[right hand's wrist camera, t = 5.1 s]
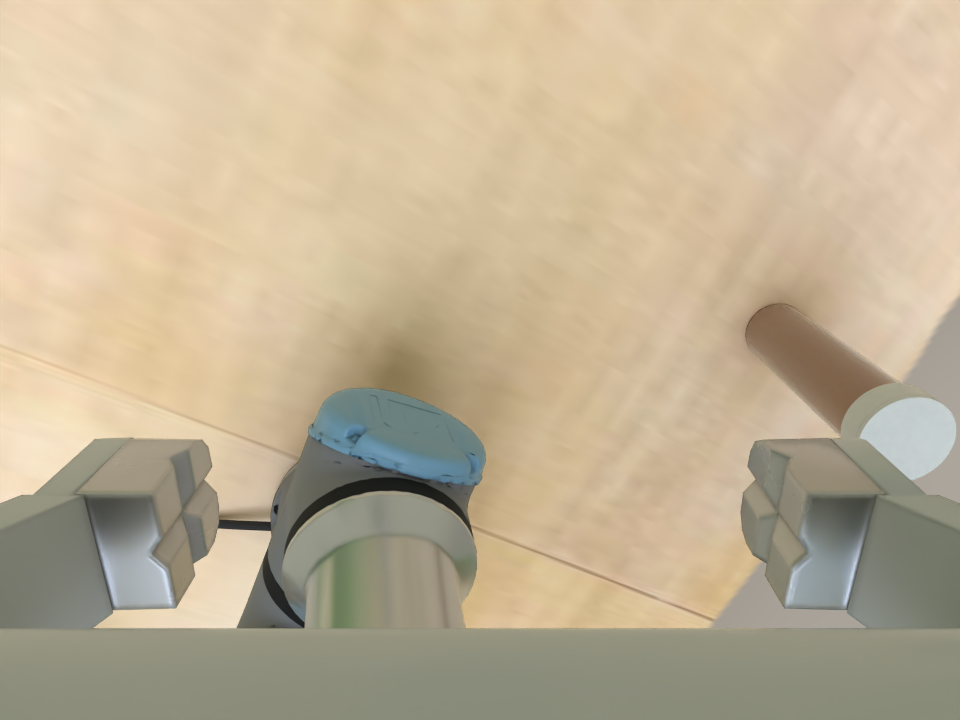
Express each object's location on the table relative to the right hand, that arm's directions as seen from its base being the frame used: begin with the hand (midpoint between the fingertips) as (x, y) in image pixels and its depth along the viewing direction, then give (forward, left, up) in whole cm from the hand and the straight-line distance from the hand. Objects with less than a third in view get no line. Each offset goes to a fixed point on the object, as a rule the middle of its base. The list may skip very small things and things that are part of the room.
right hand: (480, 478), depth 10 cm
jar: (+15, +26, -48) cm, 57 cm away
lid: (+15, +26, -28) cm, 41 cm away
